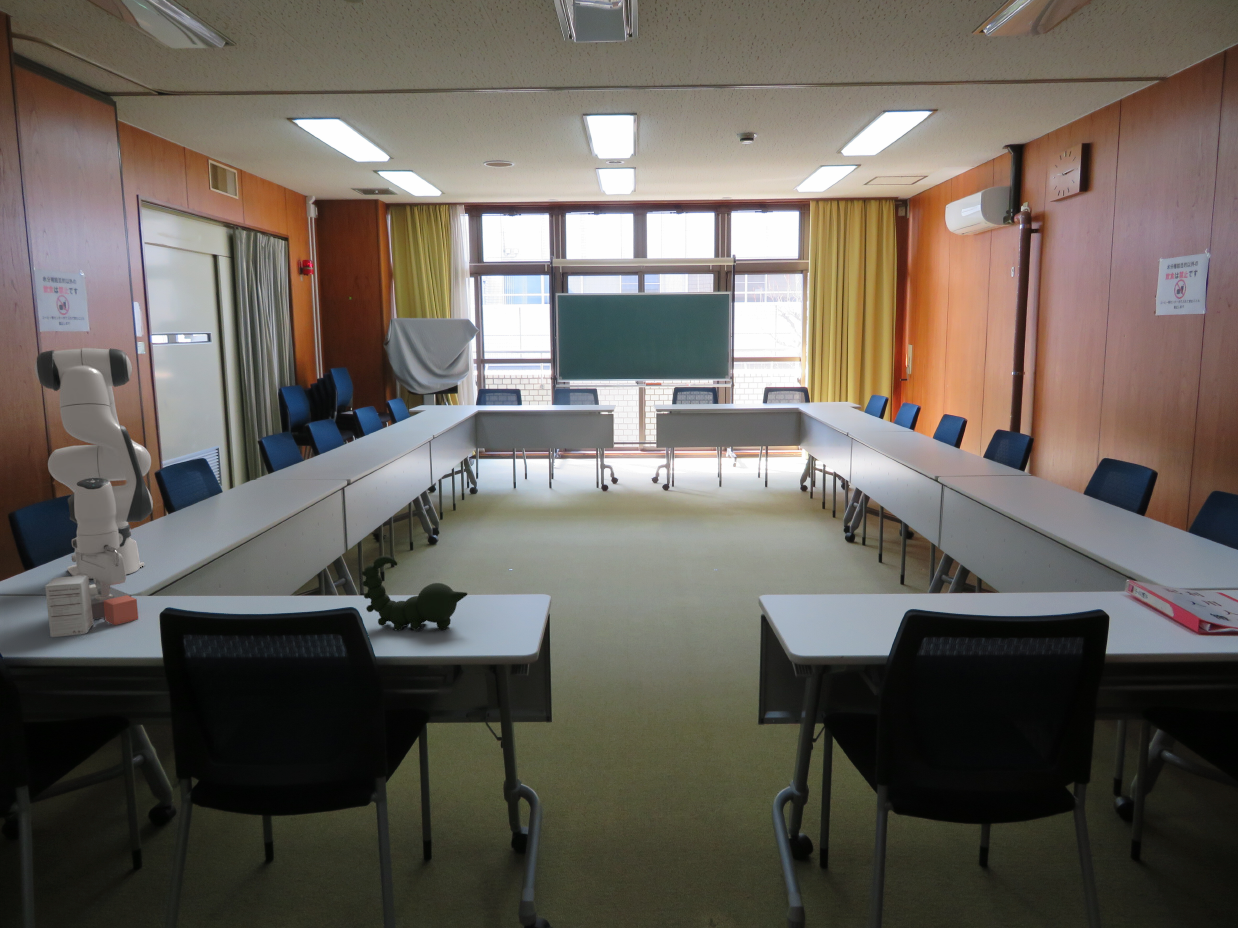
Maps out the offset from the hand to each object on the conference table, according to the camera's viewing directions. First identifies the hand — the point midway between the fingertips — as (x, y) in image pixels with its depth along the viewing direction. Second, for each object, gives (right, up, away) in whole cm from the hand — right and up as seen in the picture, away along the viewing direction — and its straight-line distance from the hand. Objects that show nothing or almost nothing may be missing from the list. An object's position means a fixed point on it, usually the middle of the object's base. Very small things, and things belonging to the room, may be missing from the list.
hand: (103, 595), depth 204 cm
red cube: (+8, -5, -5) cm, 11 cm away
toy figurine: (+83, -6, -10) cm, 84 cm away
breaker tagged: (0, -4, +1) cm, 4 cm away
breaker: (-5, -2, +4) cm, 7 cm away
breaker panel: (-2, -4, +2) cm, 5 cm away
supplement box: (0, -7, -12) cm, 14 cm away
